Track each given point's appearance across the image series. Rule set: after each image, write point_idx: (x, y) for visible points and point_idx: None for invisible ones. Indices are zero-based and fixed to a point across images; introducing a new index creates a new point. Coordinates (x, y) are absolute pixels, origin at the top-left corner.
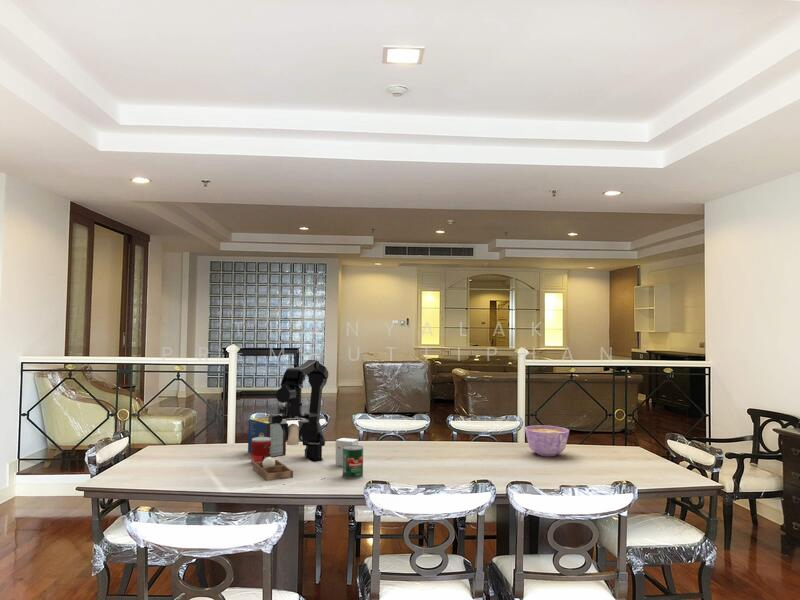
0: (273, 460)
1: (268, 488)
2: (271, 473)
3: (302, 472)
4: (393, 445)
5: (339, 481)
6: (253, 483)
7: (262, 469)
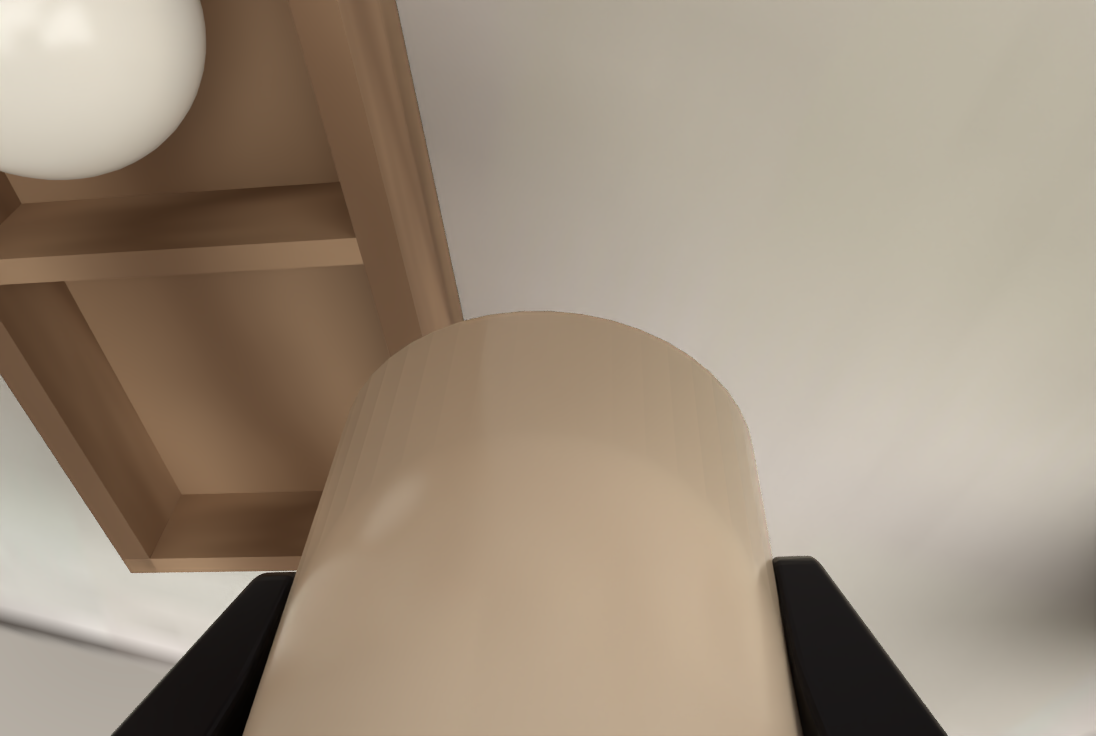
0: (124, 144)
1: (213, 591)
2: (187, 566)
3: (760, 144)
4: None
5: (978, 636)
6: (9, 411)
7: (11, 367)
